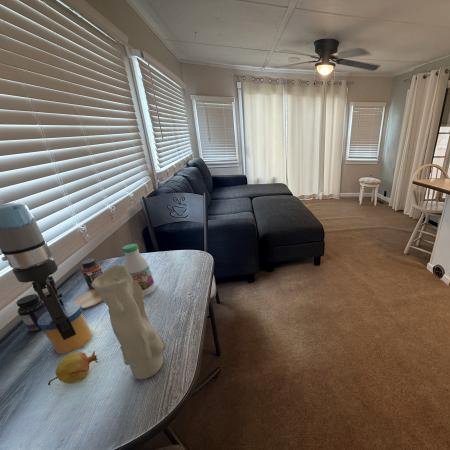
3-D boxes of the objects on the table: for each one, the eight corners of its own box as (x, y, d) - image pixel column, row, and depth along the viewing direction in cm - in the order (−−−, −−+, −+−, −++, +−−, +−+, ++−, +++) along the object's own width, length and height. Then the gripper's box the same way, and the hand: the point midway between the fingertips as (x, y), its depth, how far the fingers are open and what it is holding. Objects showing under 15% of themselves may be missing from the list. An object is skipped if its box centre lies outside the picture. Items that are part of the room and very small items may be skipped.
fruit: (40, 386, 54) (96, 358, 60) (39, 361, 58) (91, 337, 64) (53, 399, 58) (104, 371, 64) (51, 375, 62) (99, 351, 68)
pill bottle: (55, 315, 83) (41, 289, 79) (55, 325, 79) (40, 298, 75) (29, 325, 79) (13, 298, 75) (28, 335, 75) (11, 308, 71)
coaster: (62, 310, 86) (61, 308, 86) (89, 289, 97) (89, 287, 97) (95, 309, 86) (94, 308, 85) (118, 288, 97) (118, 287, 96)
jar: (47, 353, 69) (30, 326, 65) (73, 330, 77) (59, 304, 73) (75, 353, 69) (60, 325, 65) (98, 330, 76) (86, 304, 72)
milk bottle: (130, 291, 95) (114, 246, 87) (152, 282, 100) (138, 239, 92) (136, 300, 90) (119, 253, 82) (158, 290, 95) (144, 245, 87)
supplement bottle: (99, 288, 97) (88, 265, 93) (84, 289, 97) (74, 265, 93) (110, 280, 102) (101, 257, 98) (96, 280, 103) (86, 257, 98)
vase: (143, 354, 68) (107, 263, 56) (174, 352, 68) (144, 260, 57) (124, 384, 60) (79, 285, 48) (159, 381, 60) (122, 282, 49)
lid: (63, 330, 65) (60, 325, 64) (30, 331, 65) (27, 325, 64) (90, 306, 73) (88, 301, 73) (61, 307, 74) (59, 302, 73)
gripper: (10, 254, 66) (44, 316, 75) (12, 286, 52) (54, 357, 61) (47, 244, 72) (75, 303, 80) (58, 271, 58) (91, 338, 66)
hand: (66, 327), depth 70 cm, fingers open, 10 cm apart
